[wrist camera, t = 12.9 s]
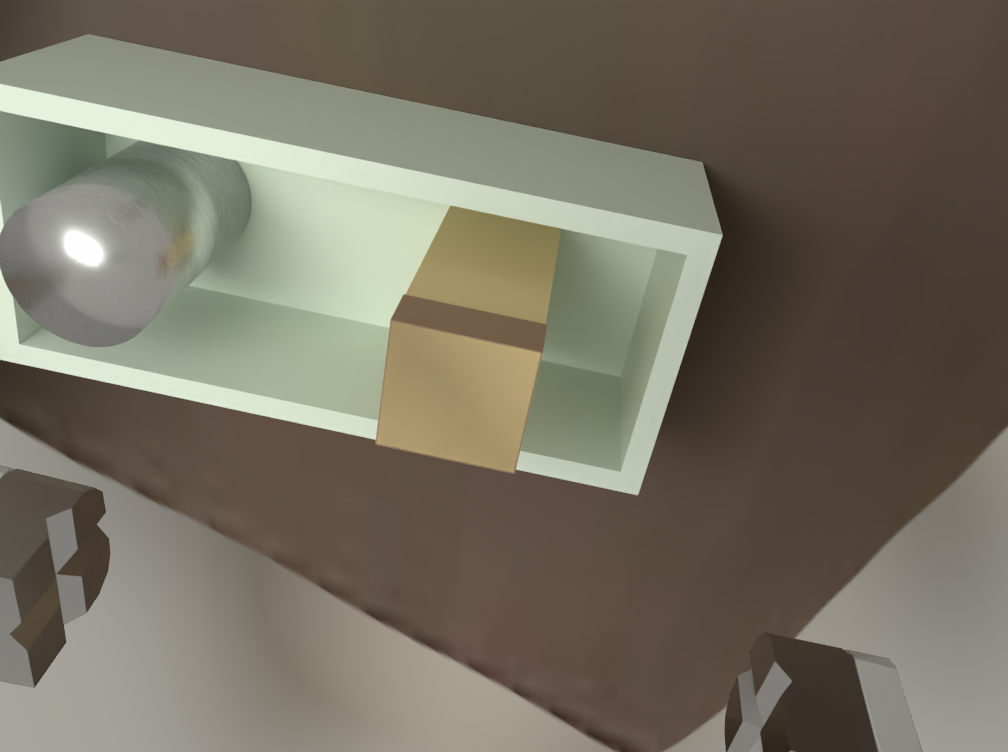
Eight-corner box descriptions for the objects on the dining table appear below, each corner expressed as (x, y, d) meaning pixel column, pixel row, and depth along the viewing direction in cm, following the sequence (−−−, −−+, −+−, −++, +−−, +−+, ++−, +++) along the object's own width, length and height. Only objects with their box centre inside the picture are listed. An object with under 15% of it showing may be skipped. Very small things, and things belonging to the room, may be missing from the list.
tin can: (125, 115, 40) (-12, 183, 31) (253, 142, 40) (151, 217, 31) (131, 237, 43) (7, 329, 34) (250, 262, 43) (157, 361, 34)
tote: (88, 34, 39) (-43, 74, 31) (702, 162, 39) (722, 235, 31) (105, 275, 45) (-1, 359, 37) (634, 387, 45) (637, 495, 37)
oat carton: (455, 193, 40) (390, 319, 29) (564, 216, 40) (542, 352, 29) (439, 292, 42) (375, 444, 31) (542, 314, 42) (514, 474, 31)
